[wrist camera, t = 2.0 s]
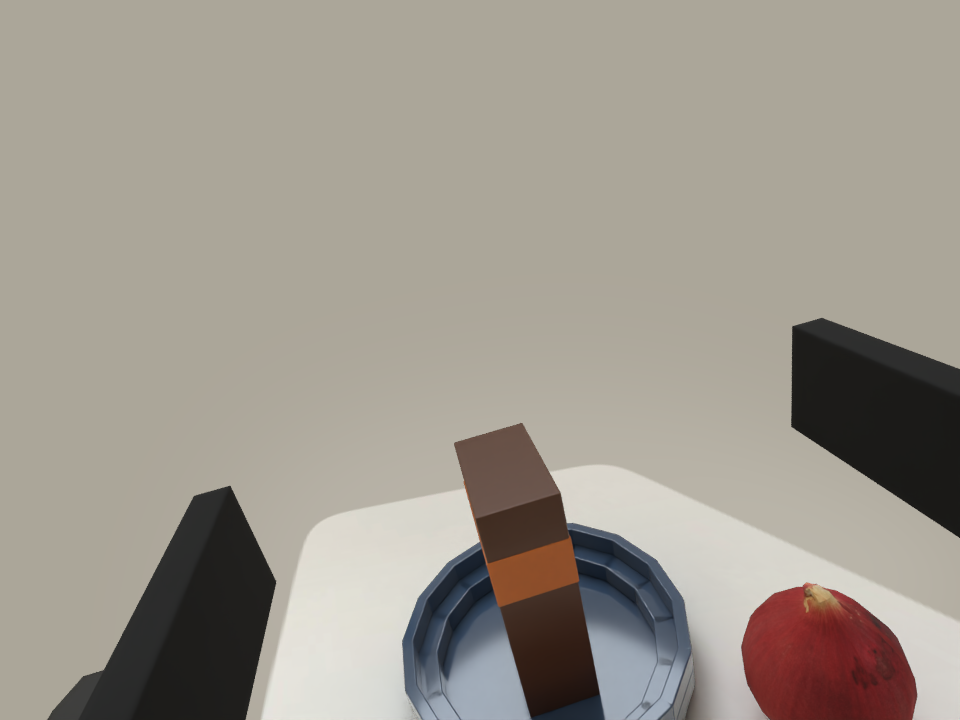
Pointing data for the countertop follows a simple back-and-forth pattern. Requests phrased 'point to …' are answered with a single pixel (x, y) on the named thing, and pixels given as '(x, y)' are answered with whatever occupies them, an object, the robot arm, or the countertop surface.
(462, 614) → the bowl
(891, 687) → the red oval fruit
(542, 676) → the snack carton
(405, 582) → the countertop surface
